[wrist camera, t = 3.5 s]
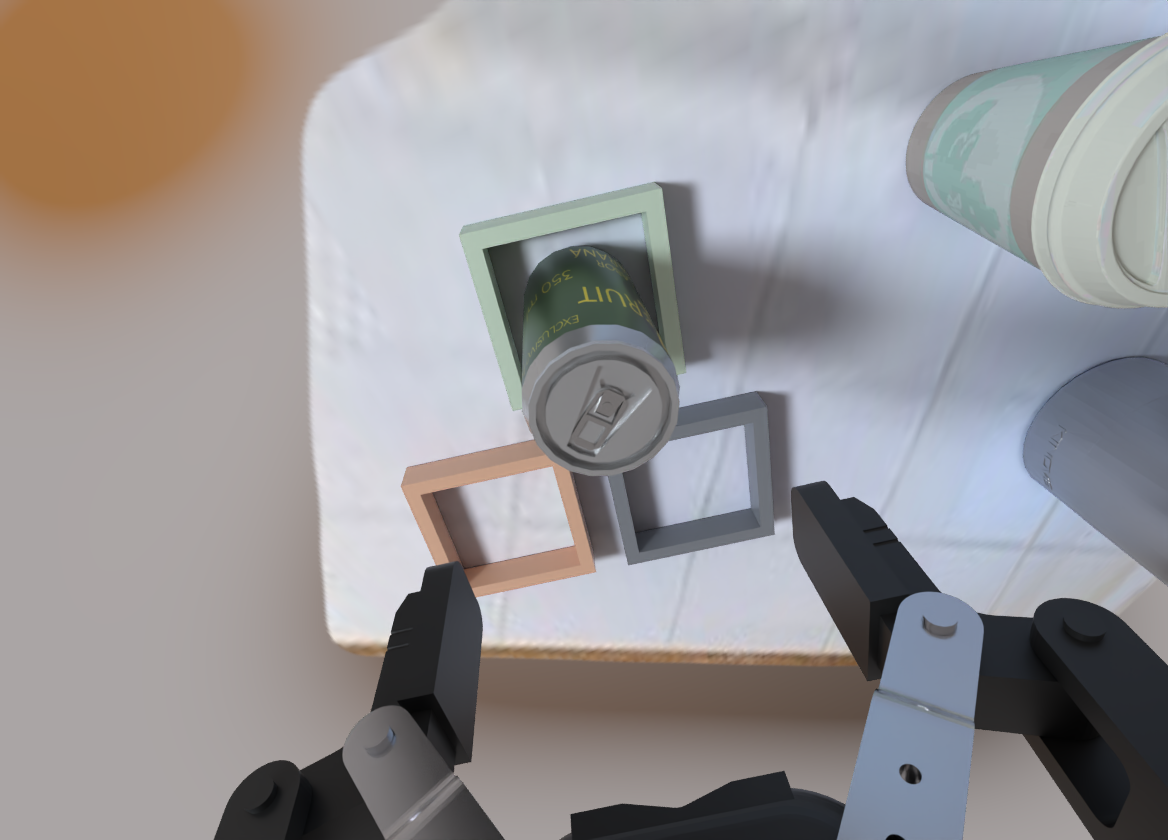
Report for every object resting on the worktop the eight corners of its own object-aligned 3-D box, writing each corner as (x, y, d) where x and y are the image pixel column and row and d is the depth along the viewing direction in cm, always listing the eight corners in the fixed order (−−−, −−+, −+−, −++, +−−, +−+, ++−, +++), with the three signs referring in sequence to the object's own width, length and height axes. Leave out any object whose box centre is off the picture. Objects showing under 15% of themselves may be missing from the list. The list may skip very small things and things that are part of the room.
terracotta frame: (562, 433, 34) (563, 450, 32) (593, 551, 38) (596, 571, 37) (406, 467, 34) (400, 486, 32) (455, 581, 38) (452, 602, 37)
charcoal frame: (756, 391, 33) (767, 406, 32) (764, 515, 38) (774, 534, 36) (597, 426, 34) (600, 442, 32) (624, 545, 38) (628, 565, 36)
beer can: (599, 363, 32) (633, 502, 21) (505, 320, 30) (493, 447, 20) (651, 273, 30) (718, 379, 19) (554, 221, 28) (568, 305, 18)
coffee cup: (919, 19, 25) (1194, -22, 15) (1098, 51, 26) (1472, 33, 16) (849, 228, 29) (1026, 311, 19) (1007, 248, 30) (1256, 336, 20)
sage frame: (654, 181, 27) (661, 188, 26) (678, 358, 32) (686, 373, 30) (462, 226, 28) (458, 234, 26) (513, 394, 32) (512, 411, 31)
